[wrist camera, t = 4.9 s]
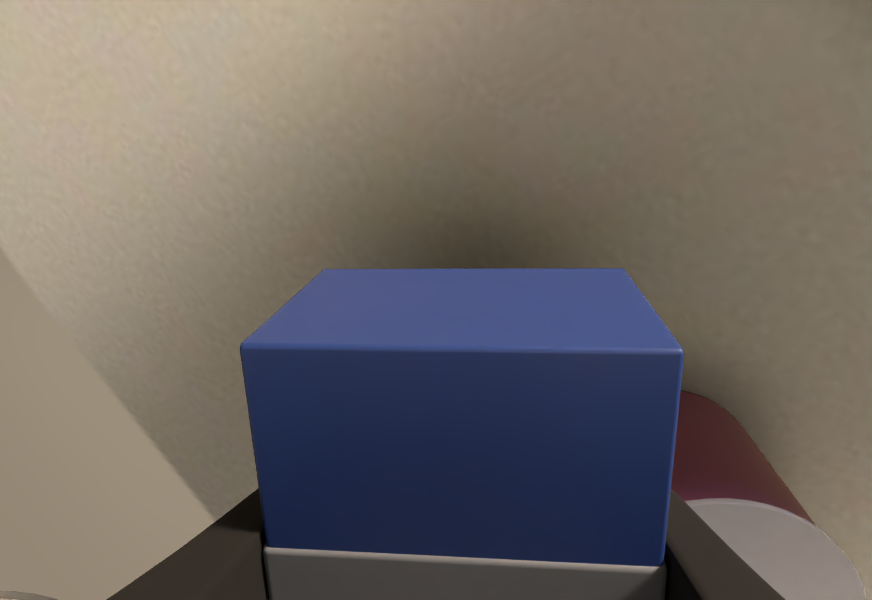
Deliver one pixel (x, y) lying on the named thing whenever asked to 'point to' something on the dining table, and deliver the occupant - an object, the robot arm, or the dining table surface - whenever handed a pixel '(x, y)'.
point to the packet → (464, 436)
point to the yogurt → (755, 507)
